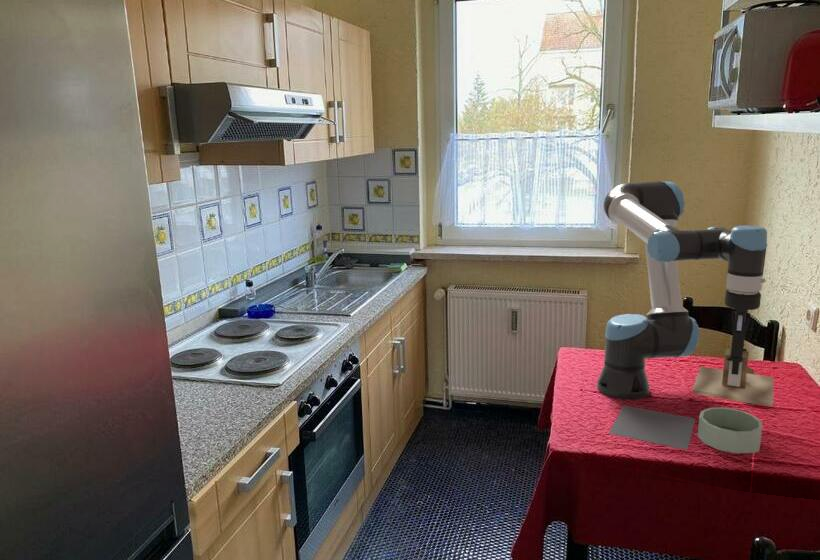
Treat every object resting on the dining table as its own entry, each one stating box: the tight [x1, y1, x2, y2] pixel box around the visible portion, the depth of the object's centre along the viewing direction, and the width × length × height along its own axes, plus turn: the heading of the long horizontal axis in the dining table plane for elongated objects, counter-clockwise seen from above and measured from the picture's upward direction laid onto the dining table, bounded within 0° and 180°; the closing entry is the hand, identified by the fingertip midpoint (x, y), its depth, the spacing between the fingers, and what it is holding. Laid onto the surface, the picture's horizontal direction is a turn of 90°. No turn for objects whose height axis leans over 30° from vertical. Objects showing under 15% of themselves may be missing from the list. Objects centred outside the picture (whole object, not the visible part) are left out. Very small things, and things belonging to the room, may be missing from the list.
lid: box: [692, 348, 775, 408], centre depth 152 cm, size 17×17×9 cm
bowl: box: [697, 406, 763, 455], centre depth 156 cm, size 14×14×6 cm
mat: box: [608, 405, 696, 451], centre depth 165 cm, size 19×19×1 cm
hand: (734, 381), depth 153 cm, fingers closed on lid, 5 cm apart
